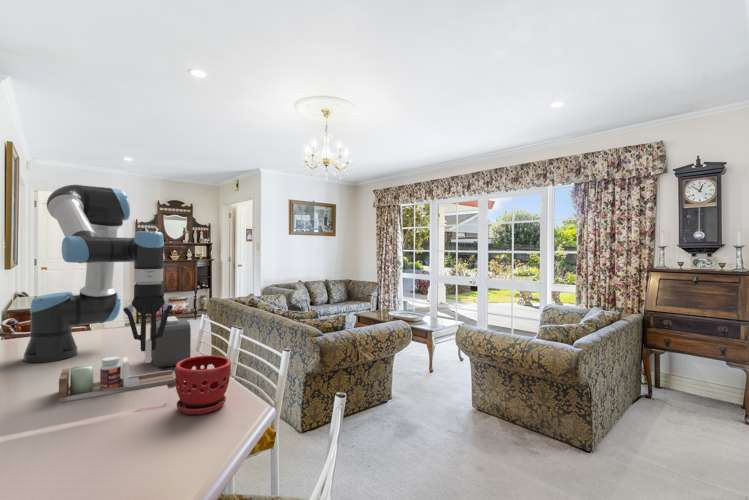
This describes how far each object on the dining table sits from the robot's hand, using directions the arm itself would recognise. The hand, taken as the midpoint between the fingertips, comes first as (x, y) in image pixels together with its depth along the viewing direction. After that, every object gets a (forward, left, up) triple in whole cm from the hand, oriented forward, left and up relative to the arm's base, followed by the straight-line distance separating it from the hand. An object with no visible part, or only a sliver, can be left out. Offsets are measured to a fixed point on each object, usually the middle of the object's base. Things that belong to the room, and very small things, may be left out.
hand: (147, 361), depth 114 cm
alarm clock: (-21, +8, -7) cm, 24 cm away
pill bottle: (+1, -9, -6) cm, 11 cm away
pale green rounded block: (+1, -16, -6) cm, 17 cm away
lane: (+1, -7, -7) cm, 10 cm away
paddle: (+1, -4, -6) cm, 7 cm away
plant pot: (+27, +10, -7) cm, 29 cm away
